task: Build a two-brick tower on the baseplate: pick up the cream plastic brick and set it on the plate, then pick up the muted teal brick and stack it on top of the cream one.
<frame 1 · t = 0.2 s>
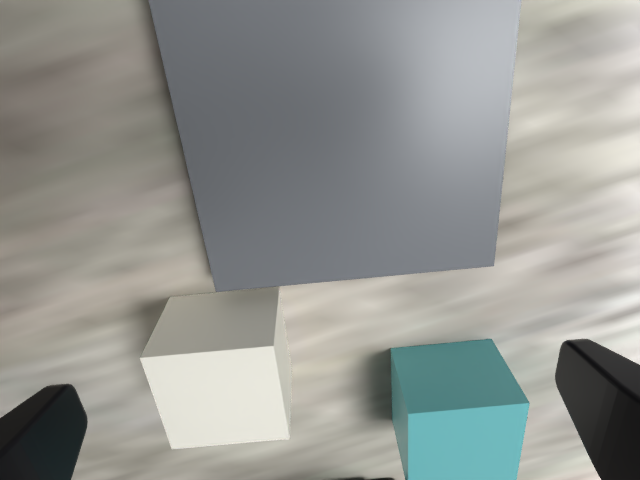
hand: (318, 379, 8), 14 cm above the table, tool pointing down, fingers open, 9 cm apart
teal brick: (438, 379, 27), on the table
cream brick: (234, 334, 25), on the table
baseplate: (343, 132, 20), on the table
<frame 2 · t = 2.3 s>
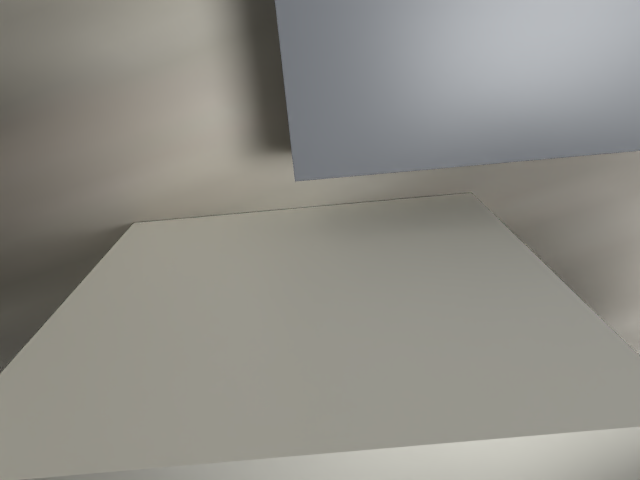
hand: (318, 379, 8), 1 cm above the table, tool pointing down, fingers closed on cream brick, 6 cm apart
cream brick: (316, 342, 9), on the table, touching gripper
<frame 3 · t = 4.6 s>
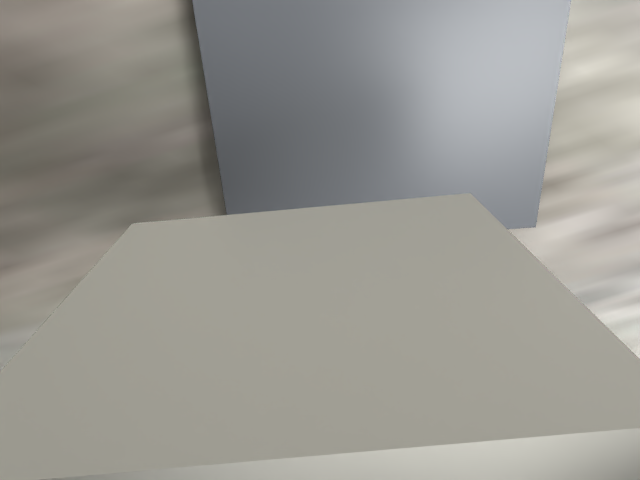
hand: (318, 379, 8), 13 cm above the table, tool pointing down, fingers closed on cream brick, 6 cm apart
cream brick: (315, 343, 9), point 12 cm above the table, touching gripper
baseplate: (378, 73, 19), on the table
when the fingers open (3 cm above the table, at t = 7.2 s): cream brick stays where it is, resting on baseplate.
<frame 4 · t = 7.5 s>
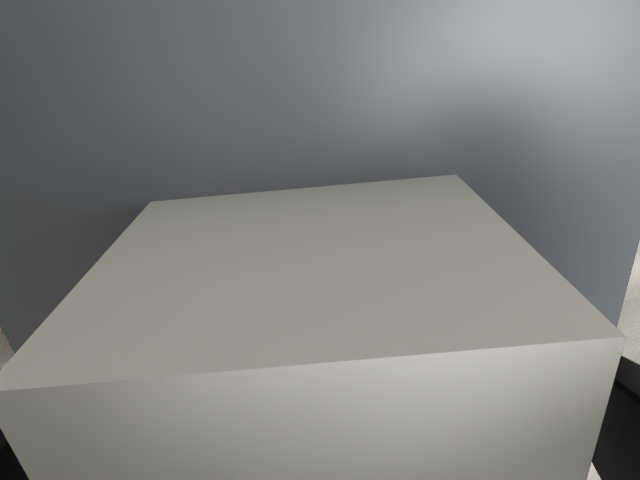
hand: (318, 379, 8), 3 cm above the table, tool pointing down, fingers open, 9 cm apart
cream brick: (316, 314, 10), point 1 cm above the table, touching baseplate
baseplate: (314, 280, 11), on the table
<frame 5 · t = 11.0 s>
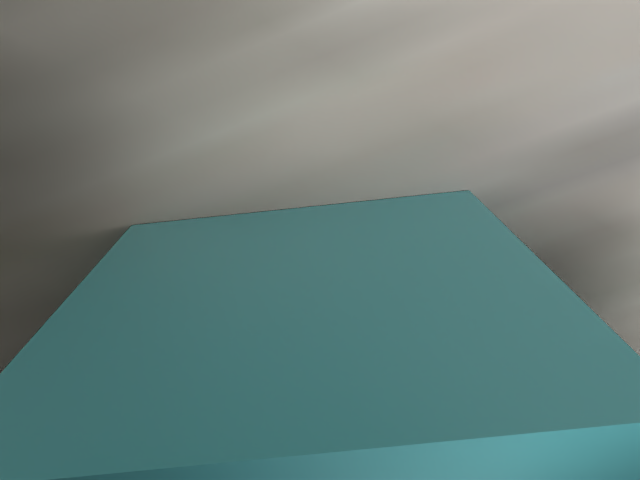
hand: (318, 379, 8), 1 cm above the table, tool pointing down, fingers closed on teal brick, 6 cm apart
teal brick: (316, 342, 9), on the table, touching gripper
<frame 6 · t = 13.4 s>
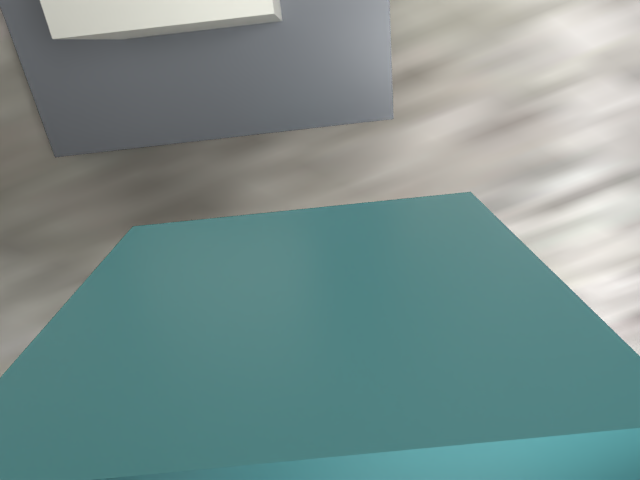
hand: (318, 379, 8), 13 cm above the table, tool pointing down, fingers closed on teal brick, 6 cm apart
teal brick: (317, 343, 9), point 12 cm above the table, touching gripper
when the fingers open (8 cm above the table, at t = 15.5 s): teal brick stays where it is, resting on cream brick.
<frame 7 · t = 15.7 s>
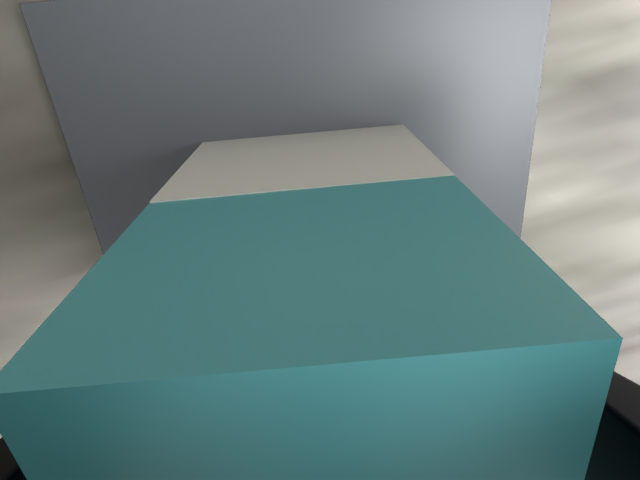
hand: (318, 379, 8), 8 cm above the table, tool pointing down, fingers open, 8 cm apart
teal brick: (315, 315, 10), point 6 cm above the table, touching cream brick
cream brick: (311, 224, 14), point 1 cm above the table, touching baseplate, teal brick
baseplate: (311, 208, 16), on the table
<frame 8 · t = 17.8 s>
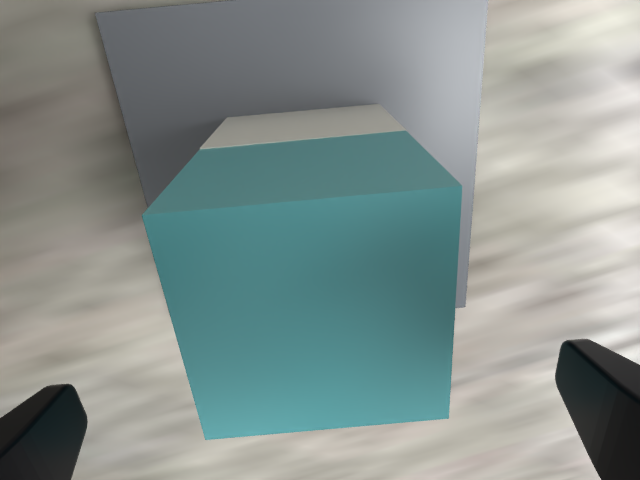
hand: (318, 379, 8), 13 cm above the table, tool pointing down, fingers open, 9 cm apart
teal brick: (312, 233, 14), point 6 cm above the table, touching cream brick
cream brick: (310, 183, 18), point 1 cm above the table, touching baseplate, teal brick
baseplate: (309, 173, 20), on the table
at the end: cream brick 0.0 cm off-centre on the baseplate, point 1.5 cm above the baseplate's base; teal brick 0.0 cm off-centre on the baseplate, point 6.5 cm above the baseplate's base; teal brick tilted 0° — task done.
